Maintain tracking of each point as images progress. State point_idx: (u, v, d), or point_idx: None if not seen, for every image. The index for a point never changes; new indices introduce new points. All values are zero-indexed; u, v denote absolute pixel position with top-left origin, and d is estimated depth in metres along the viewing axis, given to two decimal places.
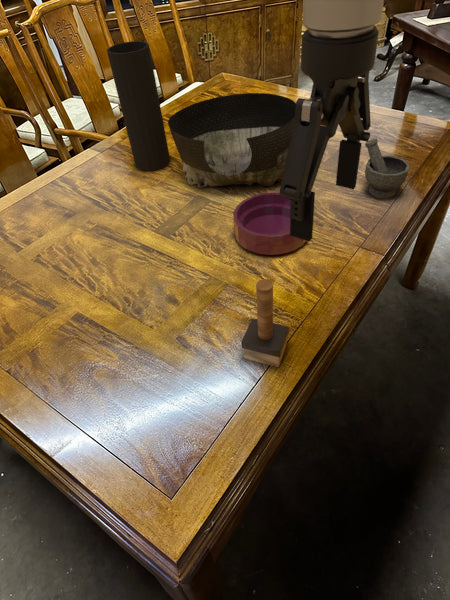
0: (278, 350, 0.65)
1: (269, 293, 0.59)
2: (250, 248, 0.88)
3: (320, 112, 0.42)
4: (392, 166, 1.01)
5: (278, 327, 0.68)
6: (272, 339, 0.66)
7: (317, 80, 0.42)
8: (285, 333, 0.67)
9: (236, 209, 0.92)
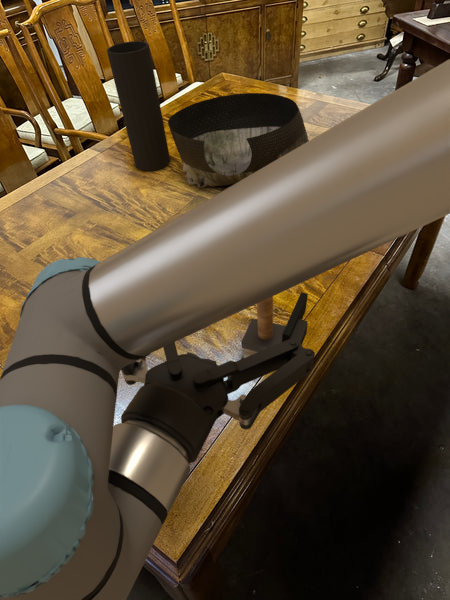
0: None
1: None
2: None
3: (245, 403, 0.37)
4: None
5: (278, 327, 0.68)
6: (272, 339, 0.66)
7: (213, 423, 0.37)
8: None
9: None
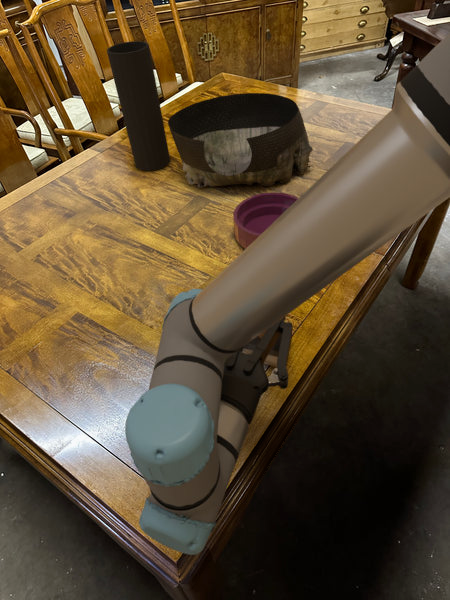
0: (278, 350, 0.65)
1: None
2: None
3: (280, 372, 0.55)
4: None
5: None
6: None
7: None
8: None
9: (236, 209, 0.92)
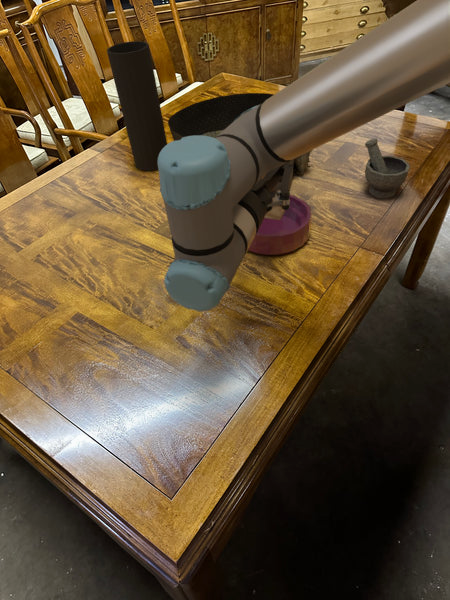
0: None
1: None
2: (250, 248, 0.88)
3: (283, 192, 0.62)
4: (392, 166, 1.01)
5: None
6: (274, 191, 0.74)
7: (265, 213, 0.61)
8: None
9: None
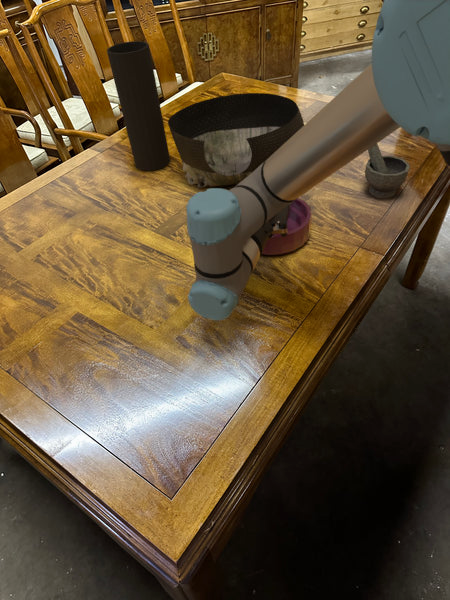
0: None
1: None
2: None
3: (282, 222, 0.76)
4: (392, 166, 1.01)
5: (279, 211, 0.90)
6: (275, 218, 0.88)
7: (267, 240, 0.76)
8: None
9: None
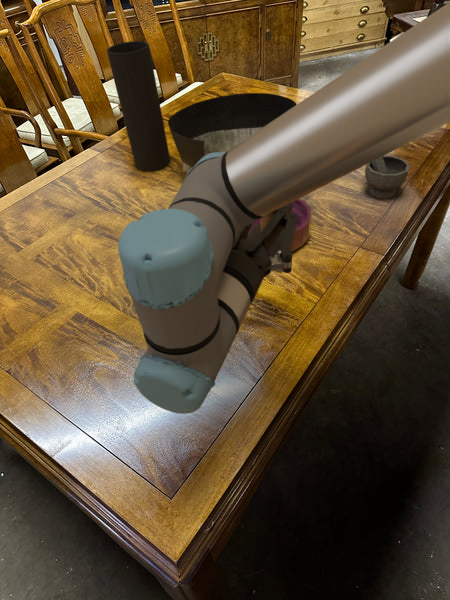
0: None
1: None
2: None
3: (284, 253, 0.52)
4: (392, 166, 1.01)
5: (282, 231, 0.66)
6: (275, 241, 0.64)
7: (262, 278, 0.52)
8: None
9: None
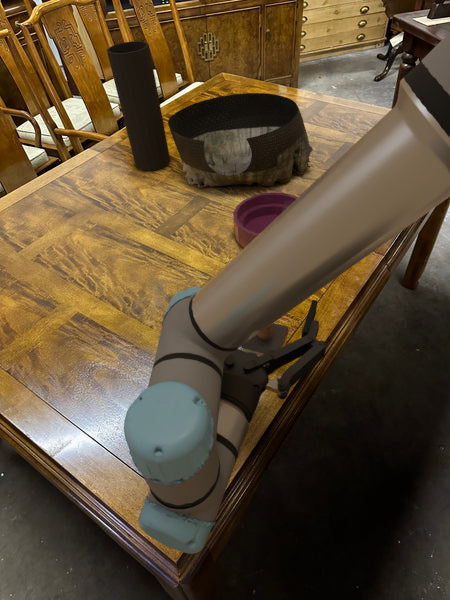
0: None
1: None
2: None
3: (281, 381, 0.53)
4: None
5: (278, 327, 0.68)
6: (272, 339, 0.66)
7: None
8: (284, 333, 0.67)
9: (236, 209, 0.92)
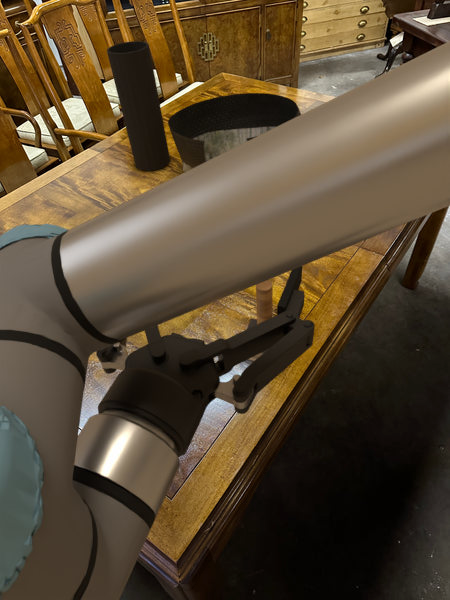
0: None
1: (269, 293, 0.59)
2: None
3: (239, 384, 0.32)
4: None
5: None
6: None
7: (204, 409, 0.33)
8: None
9: None
